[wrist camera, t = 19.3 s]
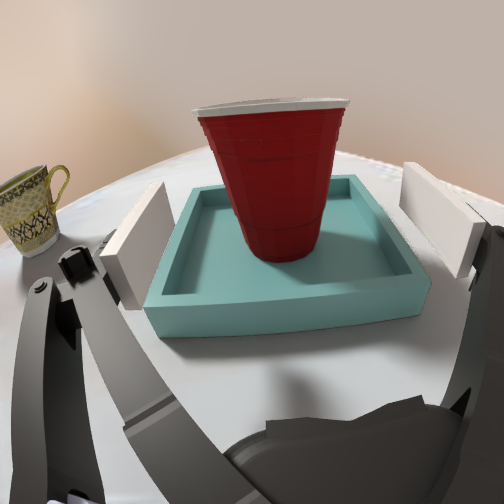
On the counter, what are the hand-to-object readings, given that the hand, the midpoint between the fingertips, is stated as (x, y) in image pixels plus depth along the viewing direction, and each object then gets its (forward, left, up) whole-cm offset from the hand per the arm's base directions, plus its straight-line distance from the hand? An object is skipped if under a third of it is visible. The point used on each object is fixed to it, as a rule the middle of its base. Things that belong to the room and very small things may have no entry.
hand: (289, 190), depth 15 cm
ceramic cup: (-31, +14, -9) cm, 35 cm away
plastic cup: (0, +7, -8) cm, 10 cm away
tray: (0, +7, -8) cm, 11 cm away
